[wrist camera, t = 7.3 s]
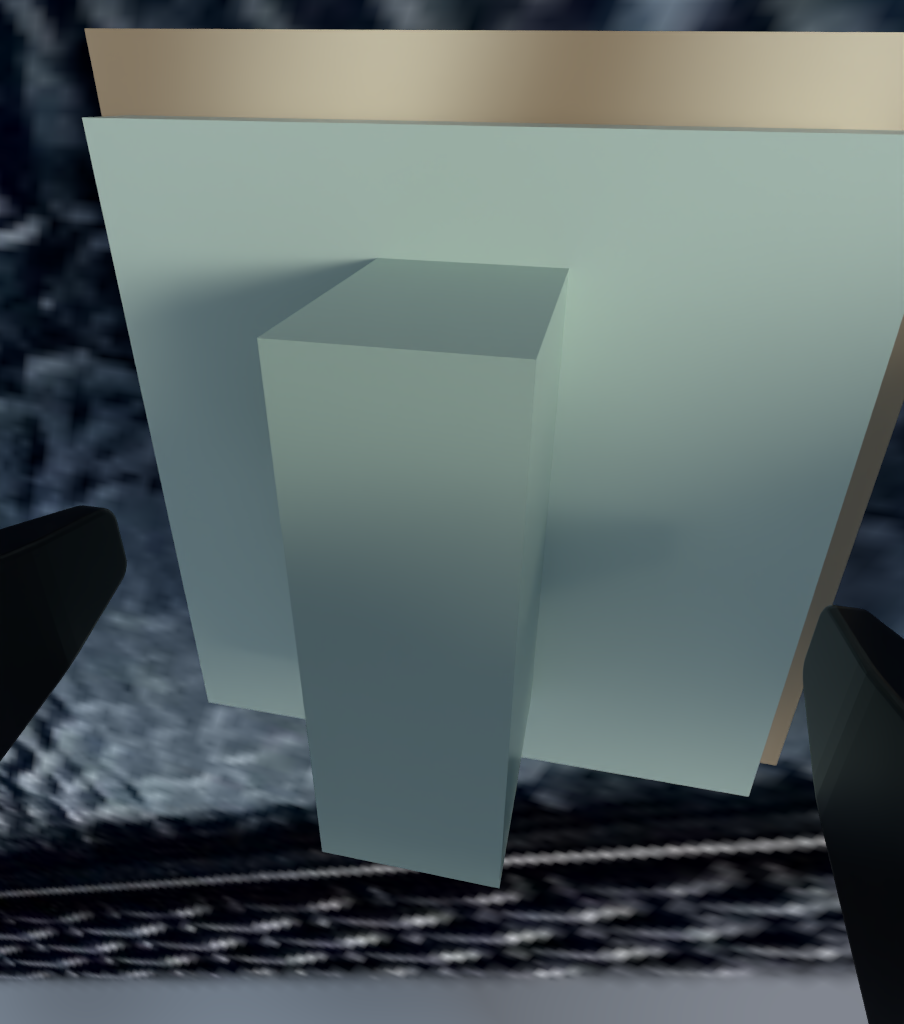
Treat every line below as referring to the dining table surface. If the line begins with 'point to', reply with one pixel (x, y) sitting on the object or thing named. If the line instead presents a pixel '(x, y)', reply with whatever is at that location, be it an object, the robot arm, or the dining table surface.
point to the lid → (501, 436)
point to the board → (543, 99)
